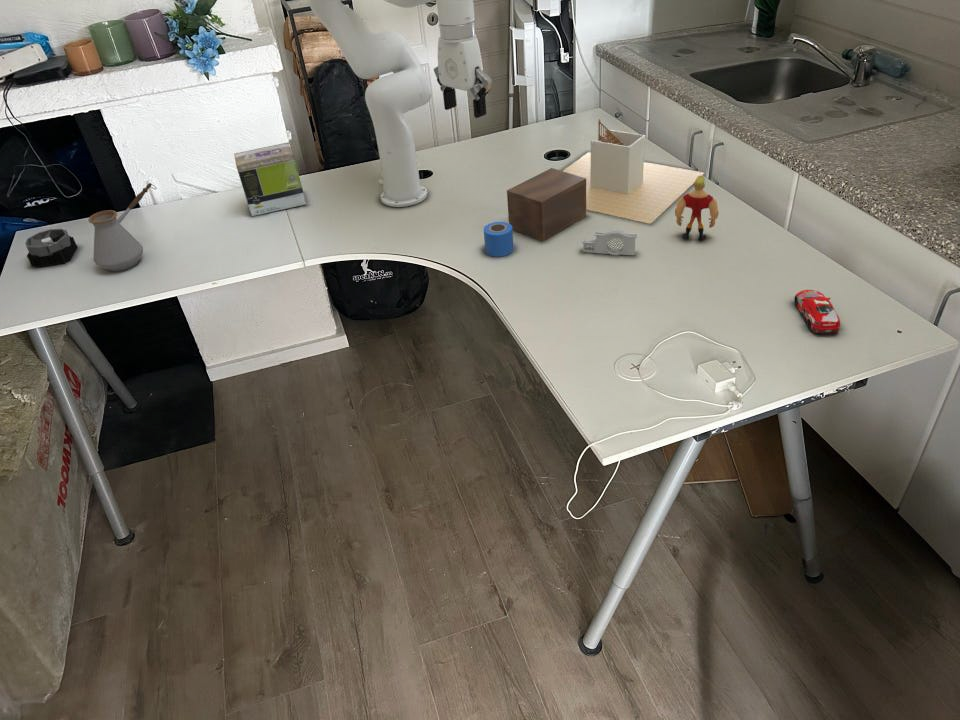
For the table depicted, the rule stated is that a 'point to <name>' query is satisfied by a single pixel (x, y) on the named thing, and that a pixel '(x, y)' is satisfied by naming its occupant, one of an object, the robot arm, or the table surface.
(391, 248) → the table surface
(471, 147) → the table surface
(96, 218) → the coffee pot
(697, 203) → the action figure
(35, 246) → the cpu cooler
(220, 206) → the table surface
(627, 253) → the lattice window wall
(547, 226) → the brown boxy piece
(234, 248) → the table surface
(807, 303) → the race car
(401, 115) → the robot arm
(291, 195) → the tea box
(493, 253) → the tape
